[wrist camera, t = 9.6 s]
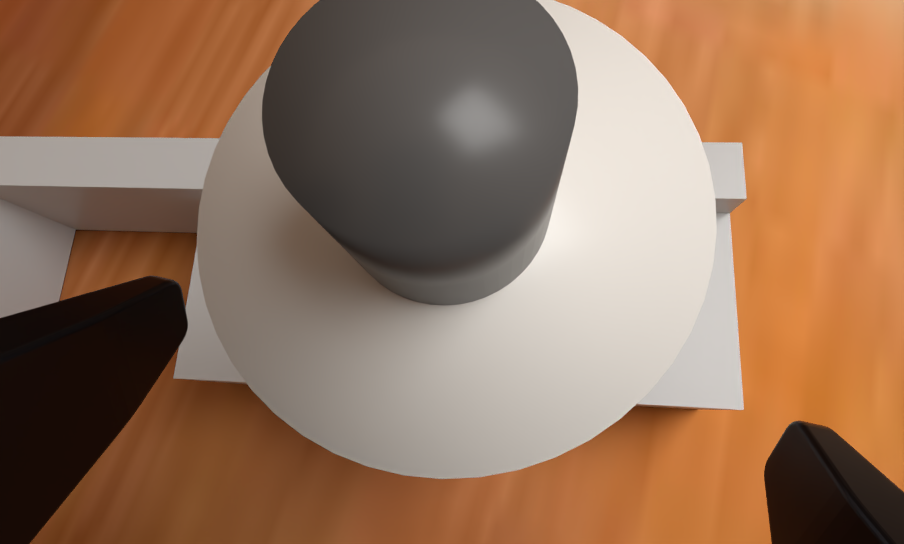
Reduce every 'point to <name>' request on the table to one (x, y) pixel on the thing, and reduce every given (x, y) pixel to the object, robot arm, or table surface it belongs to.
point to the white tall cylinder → (455, 232)
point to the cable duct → (176, 210)
